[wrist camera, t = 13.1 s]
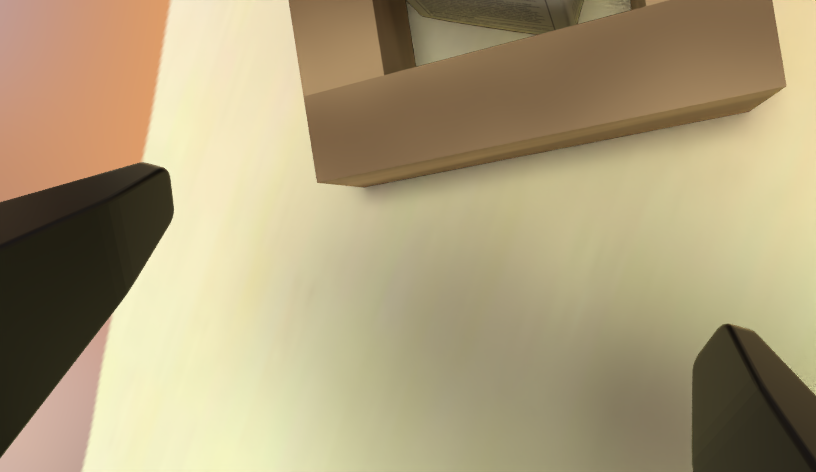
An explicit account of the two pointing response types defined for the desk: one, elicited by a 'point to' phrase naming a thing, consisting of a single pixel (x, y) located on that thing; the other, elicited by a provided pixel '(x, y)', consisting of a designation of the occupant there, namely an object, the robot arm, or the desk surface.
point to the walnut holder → (520, 84)
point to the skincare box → (504, 13)
